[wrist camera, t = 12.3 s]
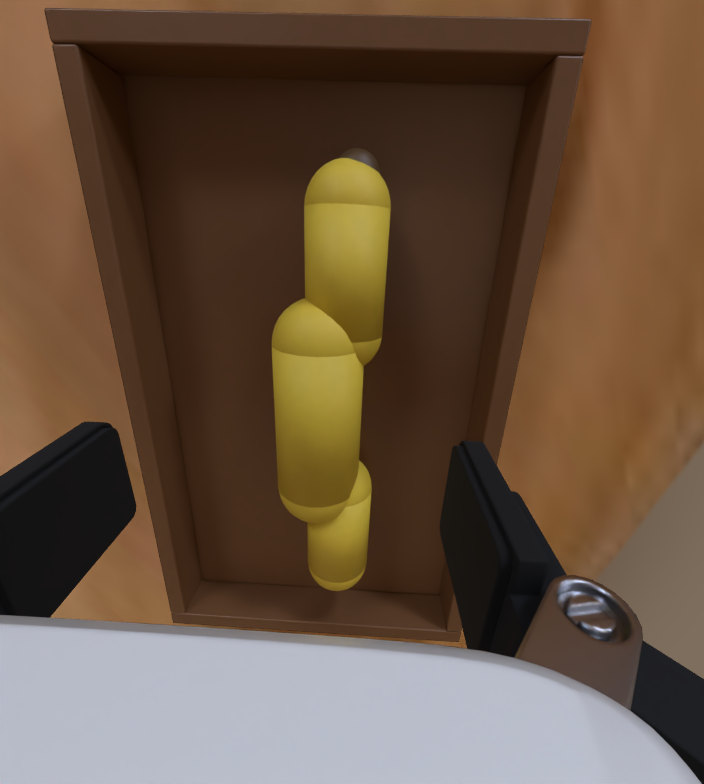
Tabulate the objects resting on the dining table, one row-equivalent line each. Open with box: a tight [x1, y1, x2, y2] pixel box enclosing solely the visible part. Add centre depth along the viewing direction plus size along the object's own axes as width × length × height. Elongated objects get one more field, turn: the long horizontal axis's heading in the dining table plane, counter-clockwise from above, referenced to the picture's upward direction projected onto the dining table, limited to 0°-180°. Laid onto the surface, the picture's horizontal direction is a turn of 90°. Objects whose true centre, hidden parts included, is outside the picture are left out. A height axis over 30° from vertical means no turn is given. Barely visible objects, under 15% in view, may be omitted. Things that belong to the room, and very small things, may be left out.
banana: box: [272, 148, 391, 591], centre depth 15 cm, size 20×4×4 cm, turn 178°
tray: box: [45, 8, 591, 642], centre depth 16 cm, size 26×16×3 cm, turn 178°
